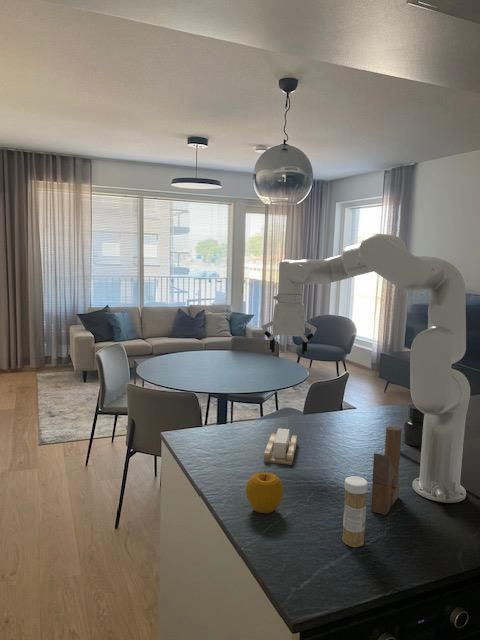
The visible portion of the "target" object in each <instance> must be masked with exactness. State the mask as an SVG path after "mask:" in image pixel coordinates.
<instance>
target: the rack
mask: <svg viewBox="0 0 480 640" xmlns="http://www.w3.org/2000/svg"><path fill="white" fill-rule="evenodd" d="M276 434H277V433H274V432H272V433H271V435H270V437H269V439H268V441H267V445H266V447H265V450H264V451H263V452H264V453H263V462H264V463H272V464H280V465H282V464H283V465H291V466H292V465H293V463H294V458H295V453H296V449H297V443H298V442H297V441H298V435H295V434H292V435H291V438H290V440H289V445H288V449H287V454H286V458H276V457H273V450H274V440H275V437H276Z"/></svg>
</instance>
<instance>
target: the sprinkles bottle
mask: <svg viewBox="0 0 480 640" xmlns="http://www.w3.org/2000/svg"><path fill="white" fill-rule="evenodd" d="M368 487H369V485H368V481H367V480H366V478H363V477H361V476H357V475H356V476H355V475H352V476H348V477H346V478H345V479H344V504H343V505H344V507H343V509H344V510H343V518H342V521H343V523H342V526H343V528H342V530H343V531H342V537H341V538H342V539H341V540H342V542H343V543H344V544H345V545H347V546H349V547H352V548H360V547H362V546H363V545H364V544H365V529H366V514H367V513H366V512H367V493H368Z"/></svg>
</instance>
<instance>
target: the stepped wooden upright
mask: <svg viewBox="0 0 480 640" xmlns="http://www.w3.org/2000/svg"><path fill="white" fill-rule="evenodd" d="M384 439H385V441H384V443H385V444H384V454H380V453H376V452H374V453H373V463H372V464H373V467H372V487H371V505H370V512H373V513H377V514H381V515H383V516H386V515H387V514H388V513H389V511H390V510H391V506H393V505H394V504H395V502H396V501H397V500H398V498H399V494H400V493H399V492H400V491H399V490H400V483H399V476H400V463H401V462H400V461H401V460H400V459H401V445H402V428H401V427H398V426H396V425H389V426H386V428H385V438H384Z"/></svg>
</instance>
